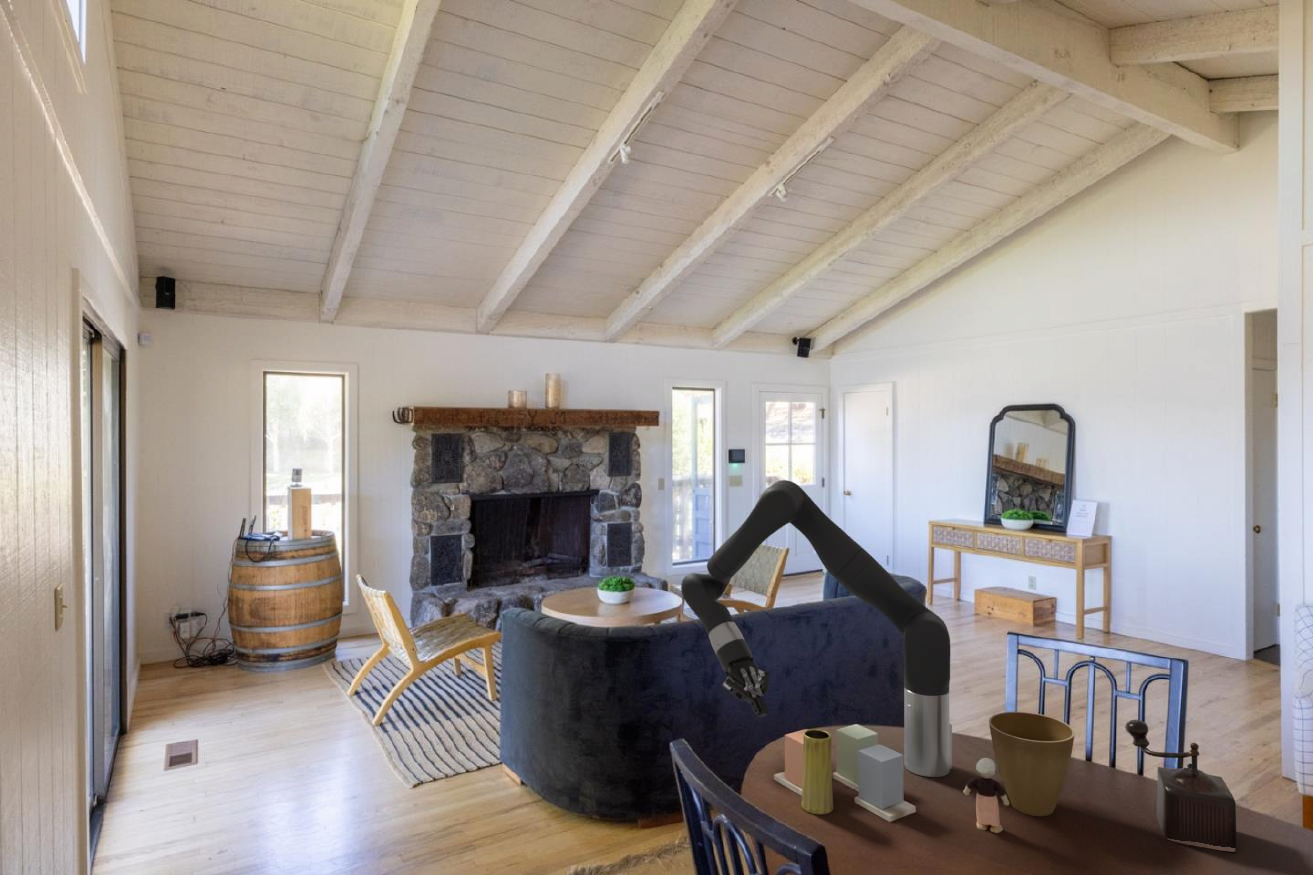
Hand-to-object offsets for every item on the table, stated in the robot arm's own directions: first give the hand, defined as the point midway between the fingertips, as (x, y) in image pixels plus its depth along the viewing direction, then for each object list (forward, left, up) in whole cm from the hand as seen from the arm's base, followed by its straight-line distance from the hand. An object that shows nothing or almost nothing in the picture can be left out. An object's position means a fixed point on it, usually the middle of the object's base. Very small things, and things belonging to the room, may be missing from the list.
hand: (763, 715), depth 166 cm
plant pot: (-31, +43, -11) cm, 54 cm away
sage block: (-11, +17, -9) cm, 22 cm away
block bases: (-6, +20, -11) cm, 23 cm away
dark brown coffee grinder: (-46, +62, -11) cm, 78 cm away
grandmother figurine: (-17, +43, -11) cm, 47 cm away
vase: (+4, +21, -11) cm, 24 cm away
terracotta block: (0, +13, -9) cm, 16 cm away
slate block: (-7, +27, -9) cm, 29 cm away
